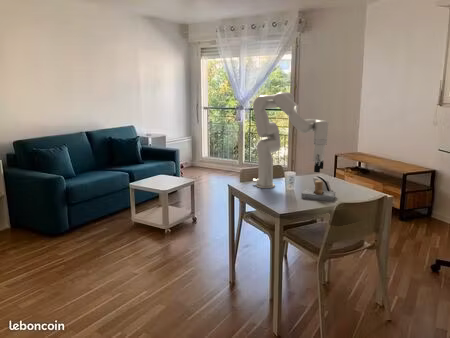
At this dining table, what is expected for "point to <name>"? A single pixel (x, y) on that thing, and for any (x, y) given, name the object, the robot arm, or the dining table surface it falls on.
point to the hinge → (325, 183)
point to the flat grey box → (318, 195)
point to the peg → (318, 187)
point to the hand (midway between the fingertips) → (318, 170)
